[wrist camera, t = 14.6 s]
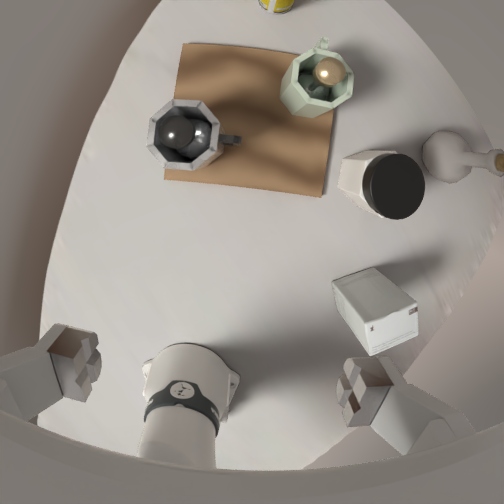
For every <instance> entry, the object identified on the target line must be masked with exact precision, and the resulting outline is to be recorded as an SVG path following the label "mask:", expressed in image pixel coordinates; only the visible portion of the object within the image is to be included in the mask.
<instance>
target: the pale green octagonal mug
mask: <svg viewBox="0 0 504 504" xmlns="http://www.w3.org/2000/svg"><path fill="white" fill-rule="evenodd" d="M327 49H328V38H325V37H322V38H321V39H320V40H319V42H318V43H317V44H316V46H315V47H314V48H312V49H310V50H309V51H307V52H305V53H304V54H302V55H300V56H299V57H297V58H295V59H294V60H293V61H292V63H291V65H290V66H289V68H288V70H287V72H286V73H285V75H284V77H283V78H282V81H281V89H280V96H279V99H280V100H281V102H282V103H283V104H284V105H285V106H286V108H287V109H288V110H289V112H290V113H291V114H292V115H296V116H302V117H307V118H315V117H317V116H319V115H321V114H323V113H325V112H327V111H329V110H331V109H333V108H335V107H336V106H338V105H339V104H341V103H342V102H344V101H345V100H347V99H348V98H350V97H351V96H352V92H353V81H354V72H353V71H352V70H351V69H350V67H349V66H348V65H347V63H346V62H345V61H344V60H343V58H342V57H341V56H340V55H339V53H335V52H331V51H327ZM326 57H333V58H336V59H338V60H340V61H341V62H342V63H343V65H344V66H345V69H346V75H345V77H344V79H343V80H342V81H340V82H339V83H338V84H336V85H335V86H333V87H329V94H328V97H327V98H326V100H325V101H322V100H318V99H313V98H310V97H309V95H308V94H307V93H306V92H305V90H304V89H303V88H302V87H301V85H300V84H299V83H298V82H297V80H298V75H299V74H301V73H303V72H307V71H312V72H313V69H314V68H315V66H316V65H317V64H318V63H319V62H320V61H321V60H322V59H324V58H326Z"/></svg>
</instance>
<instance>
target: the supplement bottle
mask: <svg viewBox="0 0 504 504" xmlns="http://www.w3.org/2000/svg"><path fill="white" fill-rule="evenodd" d="M258 2H259V5H260V6H261V8H262V9H263V10H265V11H266V12H269V13H272V14H282V13H285V12H287V11H289V10H290V9H291V7H292V5H293V3H294V0H258Z"/></svg>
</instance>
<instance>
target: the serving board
mask: <svg viewBox="0 0 504 504" xmlns="http://www.w3.org/2000/svg"><path fill="white" fill-rule="evenodd" d="M297 57H299V55H294V54H288V53H283V52H276V51H270V50H263V49H255V48H247V47H237V46H225V45H210V44H183V47H182V52H181V57H180V63H179V68H178V74H177V80H176V86H175V92H174V99H180V100H199V101H202V102H203V103H204V104H205V105H206V106H207V108H208V109H209V110H210V111H211V112H212V114H213V115H214V116H215V117H216V118H217V119H218V121H219V122H220V123H221V125H222V127H223V129H224V130H225V132H226V134H225V135H235V136H242V139H241V146H240V147H238V146H229V145H224V150H223V154H221V155H220V156H219V157H218V158H216V159H215V160H214V161H213V162H211V163H210V164H209V165H208V166H206V167H203V168H200V169H197V170H193V171H191V170H179V169H165V174H164V180H176V181H188V182H199V183H209V184H219V185H228V186H237V187H246V188H254V189H262V190H270V191H278V192H285V193H292V194H299V195H306V196H313V197H319V198H321V196H322V190H323V184H324V177H325V171H326V164H327V157H328V150H329V143H330V135H331V128H332V120H333V111H334V108H333V109H331V110H329V111H327V112H325V113H323V114H321V115H319V116H317V117H315V118H307V117H302V116H296V115H292V114H291V113H290V112H289V110H288V109H287V108H286V106H285V105H284V104H283V103H282V102H281V100H280V99H279V96H280V89H281V81H282V78H283V77H284V75H285V73H286V72H287V70H288V68H289V66H290V65H291V63H292V61H293V60H294V59H295V58H297Z"/></svg>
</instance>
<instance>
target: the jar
mask: <svg viewBox="0 0 504 504" xmlns="http://www.w3.org/2000/svg"><path fill="white" fill-rule="evenodd" d="M337 188H338V189H339V190H340V191H341V192H342V193H344V194H345V195H346V196H347V197H348V198H349V199H350V200H351V201H352V202H353V203H354V204H355V205H356V206H358V207H360V208H362V209H364V210H366V211H368V212H370V213H372V214H374V215H377V216H379V217H381V218H385V217H386V218H389V219H395V220H399V219H404V218H407V217H409V216H410V215H412V214H413V213H414V212H415V211H416V210H417V209H418V207H419V206H420V204H421V202H422V200H423V197H424V192H425V181H424V176H423V173H422V171H421V169H420V167H419V166H418V164H417V163H416V162H415V161H414V160H413V159H412V158H410V157H408V156H406V155H403V154H398V153H397V152H396V151H364V152H361V153H358V154H355V155H352V156H349V157H346V158H343V159H342V163H341V169H340V175H339V181H338V186H337Z"/></svg>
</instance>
